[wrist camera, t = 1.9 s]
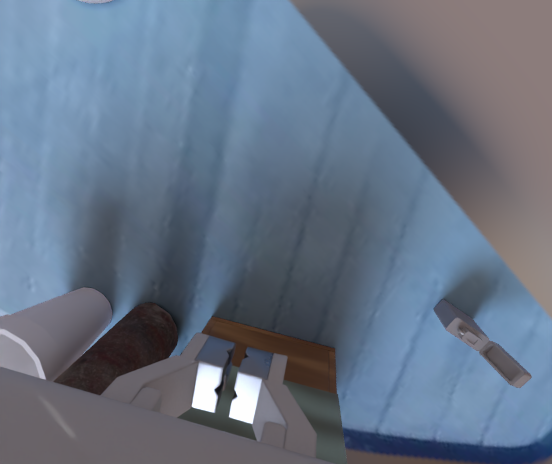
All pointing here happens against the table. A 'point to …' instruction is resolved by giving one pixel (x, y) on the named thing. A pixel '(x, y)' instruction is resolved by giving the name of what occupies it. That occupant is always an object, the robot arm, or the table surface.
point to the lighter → (481, 343)
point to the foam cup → (53, 333)
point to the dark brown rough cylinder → (124, 349)
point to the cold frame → (281, 352)
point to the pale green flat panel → (312, 402)
